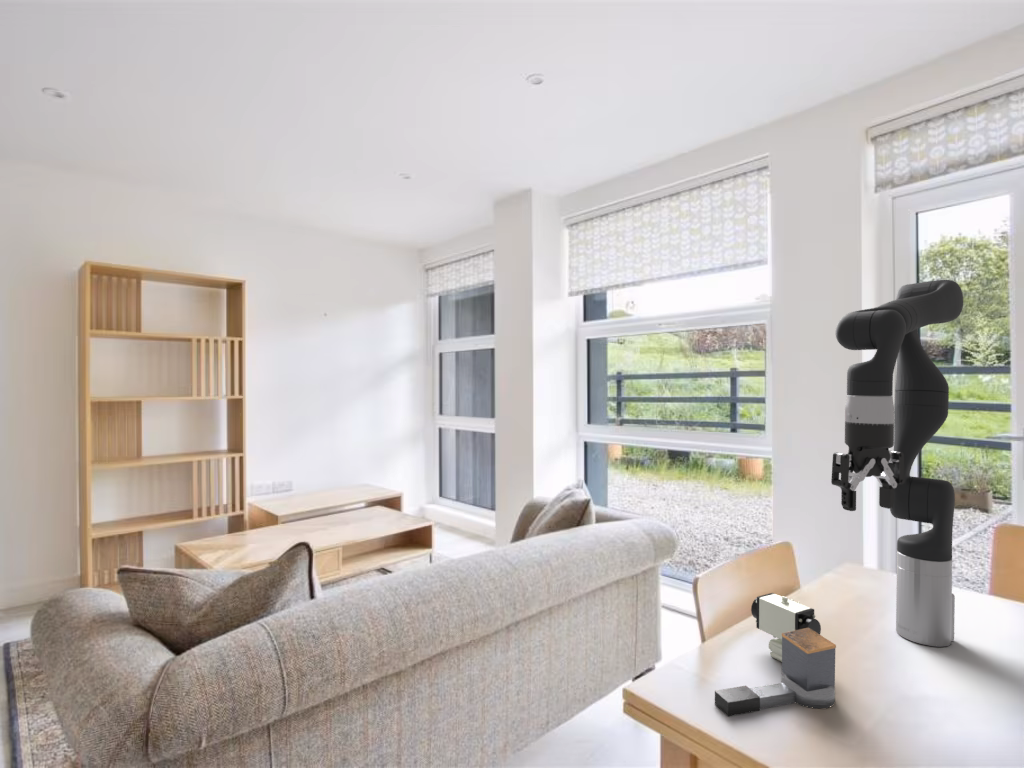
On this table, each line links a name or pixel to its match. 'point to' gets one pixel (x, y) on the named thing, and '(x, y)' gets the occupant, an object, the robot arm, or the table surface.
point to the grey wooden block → (808, 659)
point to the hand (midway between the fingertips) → (867, 508)
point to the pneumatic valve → (781, 619)
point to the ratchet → (771, 697)
